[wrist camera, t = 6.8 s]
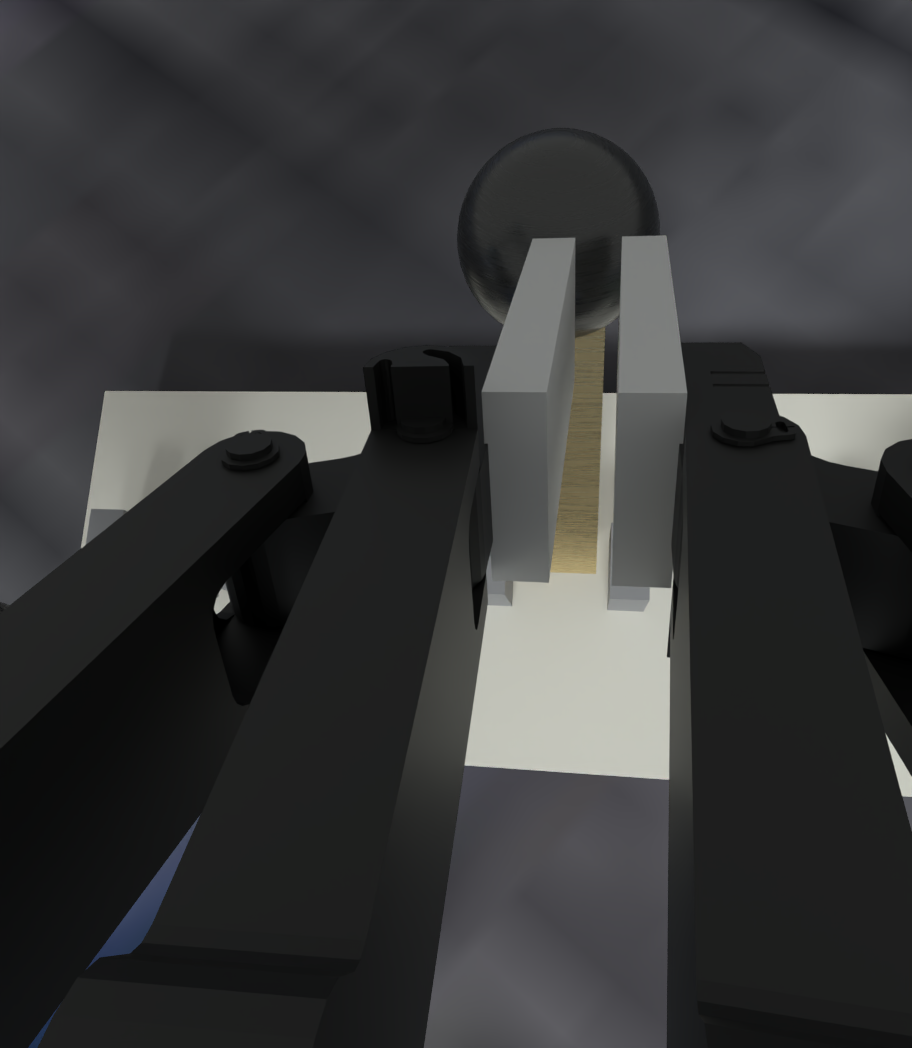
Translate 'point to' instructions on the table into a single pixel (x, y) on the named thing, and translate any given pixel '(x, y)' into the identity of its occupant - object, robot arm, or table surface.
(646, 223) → the brass lever
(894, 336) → the table surface
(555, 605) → the panel
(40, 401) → the table surface
